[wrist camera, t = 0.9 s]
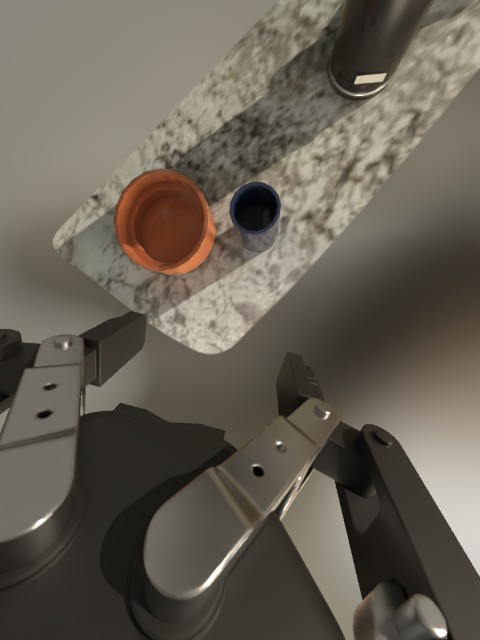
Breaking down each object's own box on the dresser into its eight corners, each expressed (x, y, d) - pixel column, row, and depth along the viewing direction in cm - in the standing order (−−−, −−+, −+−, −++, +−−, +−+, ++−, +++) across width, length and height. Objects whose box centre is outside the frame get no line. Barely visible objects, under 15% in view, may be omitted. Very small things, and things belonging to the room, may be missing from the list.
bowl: (156, 172, 36) (139, 152, 32) (231, 211, 35) (225, 196, 30) (121, 251, 38) (99, 243, 33) (191, 290, 37) (180, 288, 32)
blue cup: (250, 206, 35) (244, 173, 26) (284, 224, 34) (290, 195, 26) (232, 241, 36) (221, 220, 27) (265, 259, 35) (264, 243, 26)
